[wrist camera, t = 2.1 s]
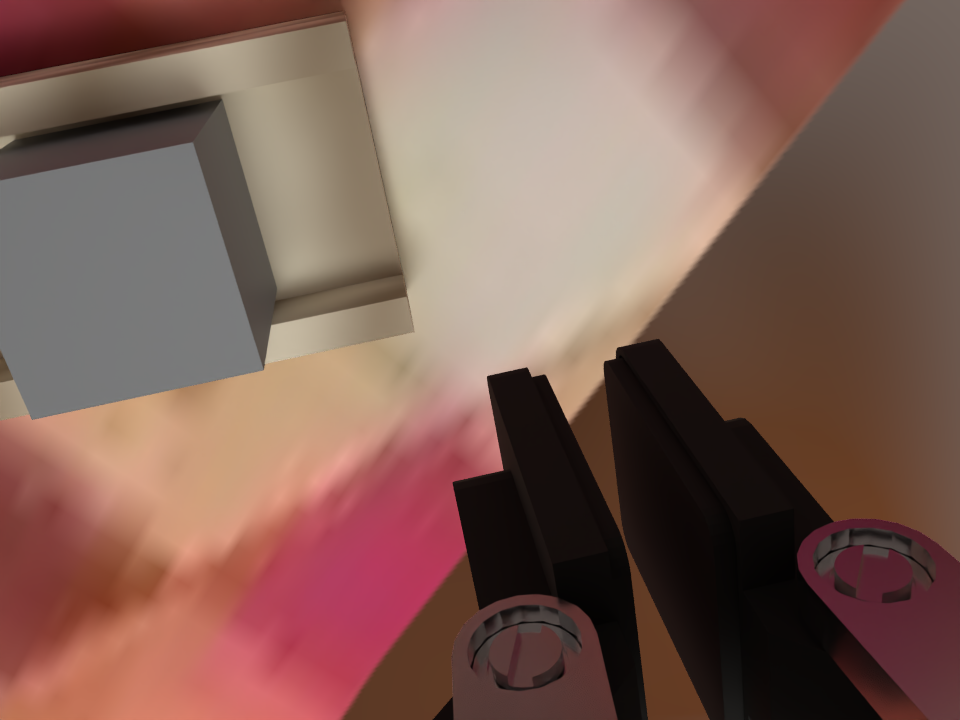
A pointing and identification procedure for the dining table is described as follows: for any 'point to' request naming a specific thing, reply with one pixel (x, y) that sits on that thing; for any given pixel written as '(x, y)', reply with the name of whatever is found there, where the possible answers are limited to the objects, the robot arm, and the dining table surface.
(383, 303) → the birch chute
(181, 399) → the dining table surface
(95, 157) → the slate block
